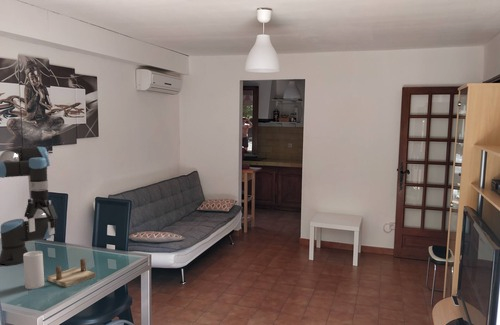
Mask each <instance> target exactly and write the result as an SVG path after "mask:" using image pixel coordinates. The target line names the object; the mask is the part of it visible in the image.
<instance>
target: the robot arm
mask: <svg viewBox="0 0 500 325" xmlns="http://www.w3.org/2000/svg"><path fill="white" fill-rule="evenodd" d="M48 153H49V152H48V151H47V148H46V147H45V146H27V147H24V146H23V147H22V146H21V147H14V148H9V149H7V150H4V151H3V152H2V153H1V154H0V179H1V178H2V179H3V178H12V177H13V178H15V177H28V178H27V179H28V192H29V193H28V194H29V198H28V199H27V205H26V209H25V212H24V218H27V220H24V219H23V218H15V219H11V220H7V221H5V222H3V223H1V225H0V241H1V242H0V243H1V250H0V263H1V264H5V265H4V266H12V265H11V264H15V265H19V263H20V264H23V263H24V260H23V254H25V253H27V252H29V251H28V249H27V246H26V242H33V241H39V240H45V239H46V240H47V239H51V238H52V236H53V235H55V234H56V231H55V227H56V222H55V221H57V220H59V217H58V215H57V211H56V209H55V207H54V204H53V200H52V199H50V200H48V197H49V190H48V188H49V182H48V167H50V165H51V164H50V158H49V154H48ZM22 262H23V263H22ZM1 264H0V265H1Z"/></svg>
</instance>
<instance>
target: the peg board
mask: <svg viewBox="0 0 500 325" xmlns="http://www.w3.org/2000/svg"><path fill="white" fill-rule="evenodd" d="M79 261H80V267H78V266H75V267H72V268H69V269H67V270H63V271H62V265H61V266H60V265H59V266H56V267H55V274H51V275H47V281H48V282H52V283H54V284H56V285H59V286H61V287H64V288H69V287H72V286H73V285H76V284H80V283H82V282H85V281H88V280H90V279H94V278H95V277H96V272H93V271H90V270H87V267H86V258H81V259H79Z"/></svg>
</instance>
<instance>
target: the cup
mask: <svg viewBox="0 0 500 325" xmlns="http://www.w3.org/2000/svg"><path fill="white" fill-rule="evenodd" d="M23 260H24V262H23V273H24V274H23V275H24V287H25V289H26V290H33V289H39V288H42V287H43V286H44V285H45V273H44V271H45V270H44V269H45V268H44V254H43V251H42V250H33V251H28V252H27V253H25V254H23Z"/></svg>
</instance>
